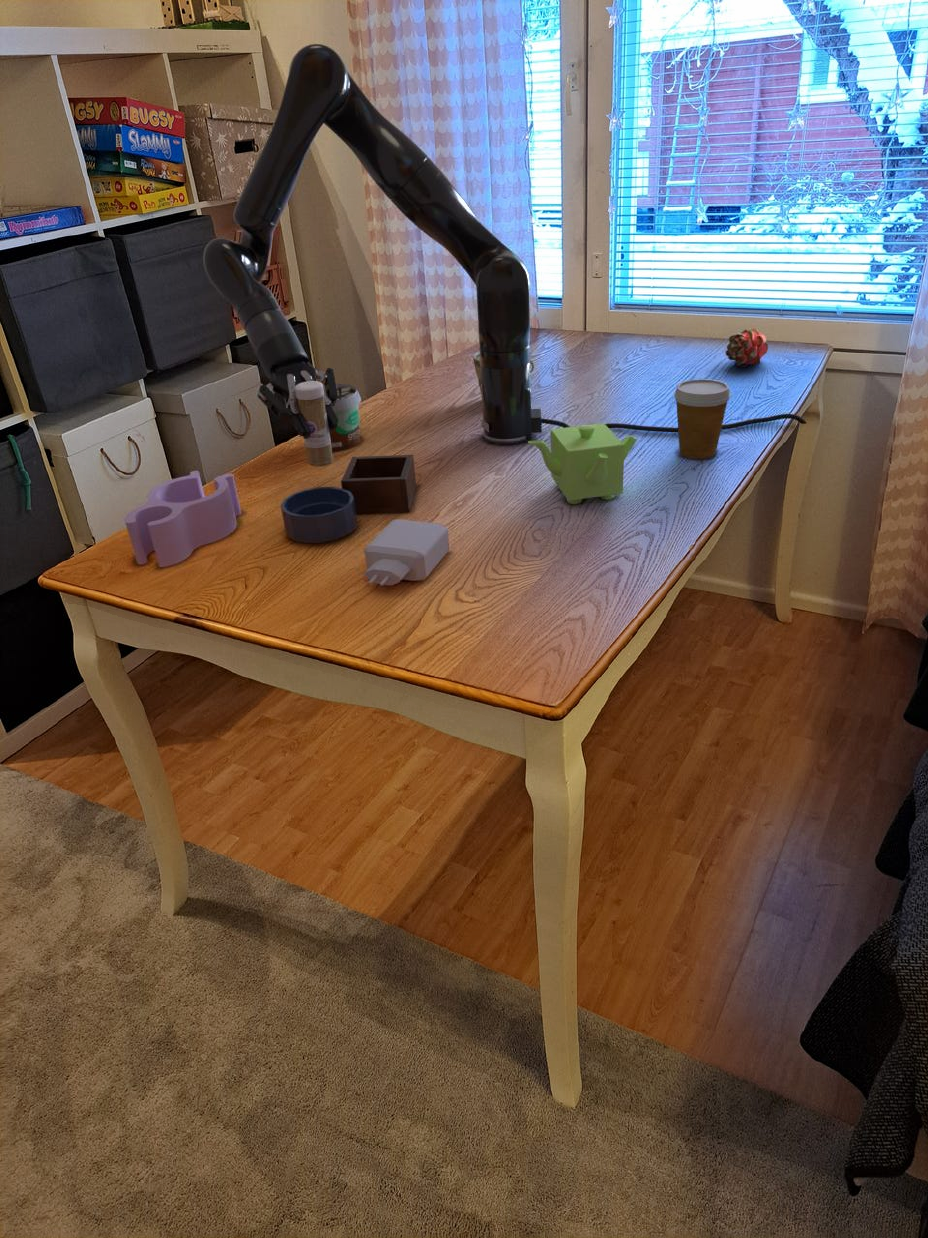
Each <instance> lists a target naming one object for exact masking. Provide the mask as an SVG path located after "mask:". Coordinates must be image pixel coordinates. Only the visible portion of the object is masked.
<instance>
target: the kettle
mask: <svg viewBox="0 0 928 1238" xmlns="http://www.w3.org/2000/svg"><path fill="white" fill-rule="evenodd" d="M605 424H606V423H604V422H600V423H592V424H591V423H590V424H583V425H575V426H571V427H566V428H563V427H559V428H551V429H550V447H549V446H548V444H547V443H546V442H545V441H543V440H541V439H540V440H539V439H538V440H537V439H535V440H531V441H527V443H528V444H529V445H530V444H531V445H533V446H535V447H536V448H538V450H539V451H540V453H541V455H542V459H543V462H544V464H545V466H546V469H547V470H548V471H549V472H550V476H551V477H552V480H553V481H554V482H555V484H556V485H557V486H558V489H559V490H560V492H561V493H562V494H563V496H564V497H565V499H566V500H567V503H568V504H573V505H576V504H580V503H582V500H584V499H590V498H600V499H602V500H612V499H614V498H615V496H614V495H622V494H623V493H624V470H625V469H624V467H625V466H624V465H625V460H626V458H627V457H628V455H629V454H630V452H631V450H632V449H633V447H634V446H635V444H636V443H637V441H638V438H637V437H635V436H632V435H626V437H625V438H624V439H623V440H622V441H621V440H620V439H619V437H618V436H617V435H616V434H615V433H614V432H613V431H612V430H611V428H608V427H607V426H606V425H605Z"/></svg>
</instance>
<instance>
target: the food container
mask: <svg viewBox="0 0 928 1238" xmlns="http://www.w3.org/2000/svg"><path fill="white" fill-rule="evenodd" d="M336 387H337V392H338V399H337V400H336V403H335V405H334V406H333V407H332V409H333V410H334V412H335V415H336V416H337V418H338V424H337V428H336V430H335V431H330V429H329V432H330V439H331V447H332V452H338V451H345V450H348V449H351V448H353V447H356V446H358V445H359V444H360V443H361V432H360V414H359V413H360V412H359V405H360V404H361V402H362V398H361V394H360V391H359V390H358V389H357V387H356V386H354V385H352V384H347V383H336Z"/></svg>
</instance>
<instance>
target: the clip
mask: <svg viewBox="0 0 928 1238" xmlns="http://www.w3.org/2000/svg"><path fill="white" fill-rule="evenodd" d="M234 477H235V476H234V473H226V474H222V475H219V476H216V477H214V478H213V484H214V488H215V491H214V492H213V493H211V494H209V495H205V491H204V488H203V484H202V480H201V475H200V472H199V470H193V471H190V472H189V475H184V476H180V477H176V478H171V479H169V480H167V481H164V482H161V483H160V484H158V485H156V486H154V487H153V488H152V489H150V491H149V492H148V493H147V496H146V497H147V501H146V502H145V503H144V504H143V505H141V506H138V507H136V508H134V509H133V510H131V511H129V512H128V513H127V514H126V515H125V517H124V522H125V526H126V529H127V533H128V537H129V539H130V540H129V541H130V542H131V546H132V550H133V554H134V557H135V561H136V563H137V564H138V565H139V566H142V565H146V564H147V563H148V555H150V554H151V553H153V552H154V553H155V556H156V557H155V558H156V561H157V564H158V567H159V568H166V567H170V566H173V565H176V564H179V563H182V562H183V561H185V560H186V559H188V558H189V557H190V556H191V555H192V553H193V551H194V550H196V549H197V548H199V547H202V546H205V545H208V544H211V543H214V542H218V541H220V540H222V539H224V538H226V537H227V536H229V535H230V534H232V533H233V532H234V531H235V529H236V528H237V525H238V522H237V518H236V517H239V516H241V515H242V510H241V506H240V505H241V504H240V499H239V496H238V492H237V487H236V481H235V478H234Z"/></svg>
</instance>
